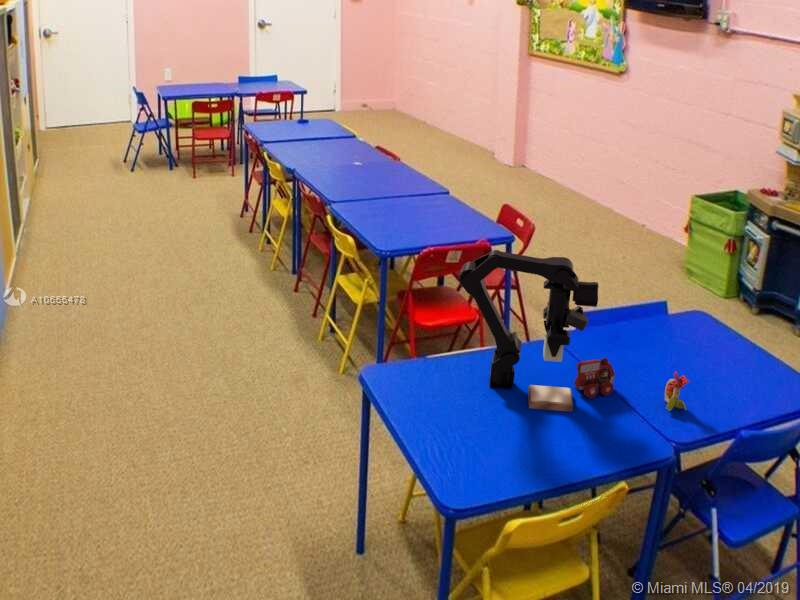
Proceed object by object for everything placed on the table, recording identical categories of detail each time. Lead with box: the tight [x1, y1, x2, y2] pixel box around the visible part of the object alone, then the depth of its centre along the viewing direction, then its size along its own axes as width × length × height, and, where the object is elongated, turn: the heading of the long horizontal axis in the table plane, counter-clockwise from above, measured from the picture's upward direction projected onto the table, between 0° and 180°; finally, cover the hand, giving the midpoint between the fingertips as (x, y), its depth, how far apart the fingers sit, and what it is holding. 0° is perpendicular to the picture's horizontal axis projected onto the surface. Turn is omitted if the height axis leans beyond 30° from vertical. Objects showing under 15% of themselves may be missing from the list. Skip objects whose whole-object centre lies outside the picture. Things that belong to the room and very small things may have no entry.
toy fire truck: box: [573, 357, 616, 399], centre depth 243 cm, size 7×12×10 cm, turn 110°
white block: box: [542, 333, 565, 363], centre depth 240 cm, size 5×5×6 cm
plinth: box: [527, 384, 574, 413], centre depth 239 cm, size 12×9×2 cm
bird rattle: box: [664, 371, 691, 412], centre depth 237 cm, size 6×11×9 cm
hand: (553, 352), depth 241 cm, fingers closed on white block, 5 cm apart
